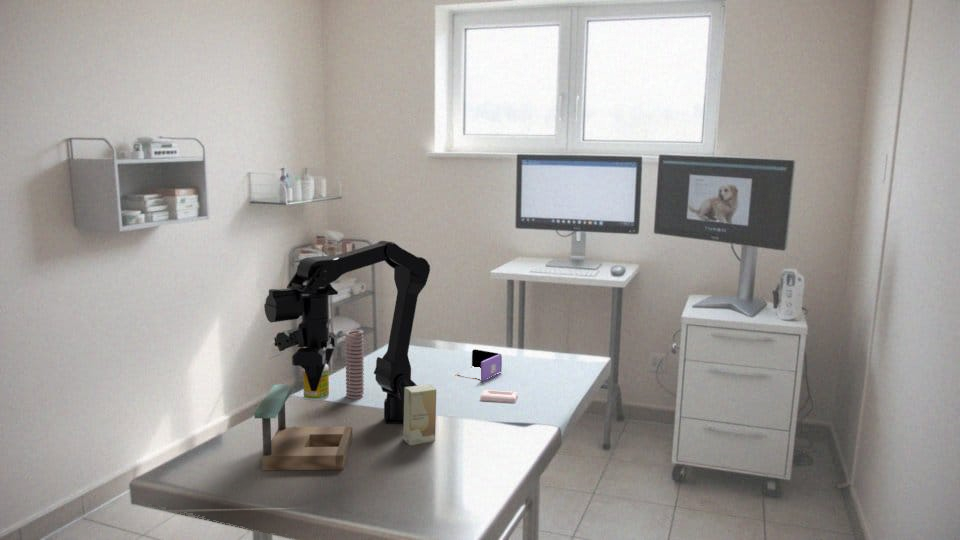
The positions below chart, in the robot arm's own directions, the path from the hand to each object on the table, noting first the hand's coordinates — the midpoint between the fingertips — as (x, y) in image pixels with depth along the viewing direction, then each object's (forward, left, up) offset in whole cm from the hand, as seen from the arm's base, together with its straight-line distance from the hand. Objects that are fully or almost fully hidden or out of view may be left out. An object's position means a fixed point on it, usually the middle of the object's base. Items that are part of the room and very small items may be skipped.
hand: (316, 386), depth 160 cm
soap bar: (-43, -27, -13) cm, 52 cm away
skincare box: (-23, 0, -13) cm, 26 cm away
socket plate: (0, +7, -13) cm, 14 cm away
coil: (-5, -30, -13) cm, 33 cm away
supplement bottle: (0, 0, -3) cm, 3 cm away
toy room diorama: (-38, -48, -13) cm, 63 cm away
